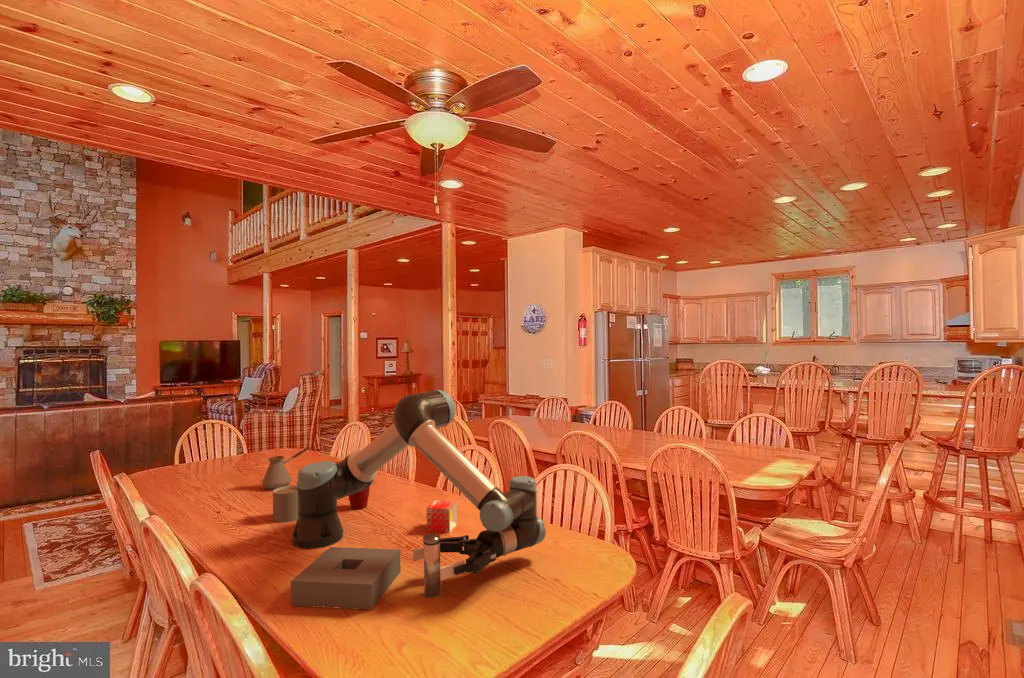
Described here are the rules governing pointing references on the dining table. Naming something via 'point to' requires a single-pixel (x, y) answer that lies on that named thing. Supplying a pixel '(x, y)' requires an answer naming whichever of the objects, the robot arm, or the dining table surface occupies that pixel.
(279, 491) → the coffee mug
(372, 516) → the dining table surface
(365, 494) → the plastic cup
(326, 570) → the block
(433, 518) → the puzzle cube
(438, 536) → the steel pin
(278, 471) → the coffee pot
